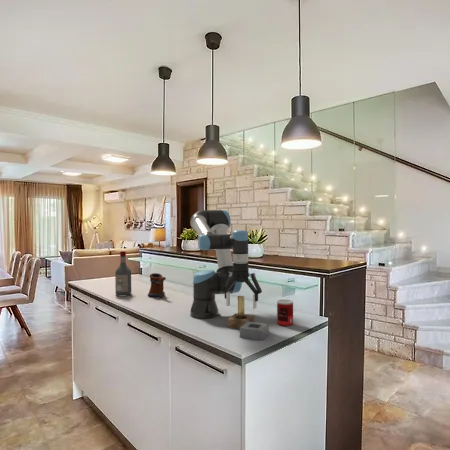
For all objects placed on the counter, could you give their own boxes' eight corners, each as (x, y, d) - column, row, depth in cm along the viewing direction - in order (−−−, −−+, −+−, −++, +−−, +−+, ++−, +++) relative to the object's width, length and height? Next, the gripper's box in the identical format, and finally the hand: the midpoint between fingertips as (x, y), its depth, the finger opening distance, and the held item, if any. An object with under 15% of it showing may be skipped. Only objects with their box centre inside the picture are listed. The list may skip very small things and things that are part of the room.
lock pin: (237, 326, 156) (236, 296, 155) (239, 324, 158) (239, 295, 158) (243, 326, 154) (242, 297, 154) (245, 324, 157) (245, 295, 157)
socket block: (239, 337, 141) (239, 327, 141) (247, 329, 150) (247, 321, 150) (262, 340, 137) (262, 330, 137) (268, 332, 146) (268, 323, 146)
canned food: (291, 321, 162) (290, 299, 162) (295, 326, 154) (294, 303, 154) (275, 321, 162) (275, 299, 162) (279, 326, 154) (278, 303, 154)
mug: (172, 297, 215) (172, 275, 215) (156, 300, 208) (156, 277, 208) (160, 293, 229) (160, 272, 229) (144, 295, 222) (144, 273, 222)
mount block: (227, 327, 154) (227, 318, 154) (235, 321, 163) (235, 313, 163) (247, 329, 150) (247, 321, 150) (254, 323, 159) (254, 315, 159)
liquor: (126, 296, 221) (126, 252, 221) (114, 295, 223) (113, 252, 222) (132, 293, 230) (132, 250, 230) (120, 292, 232) (119, 250, 231)
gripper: (213, 262, 158) (214, 306, 158) (263, 264, 148) (264, 311, 148) (220, 260, 164) (220, 302, 164) (268, 262, 154) (268, 307, 155)
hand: (241, 306), depth 156 cm, fingers open, 13 cm apart
